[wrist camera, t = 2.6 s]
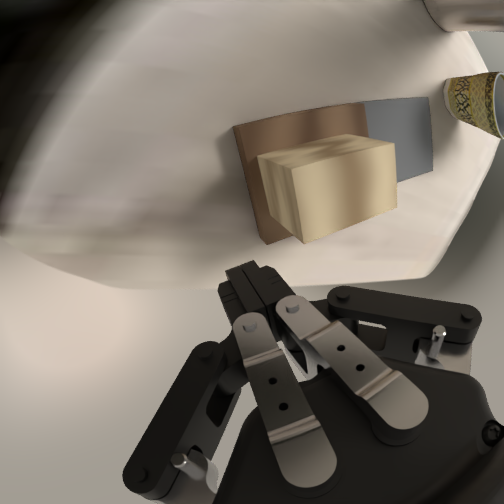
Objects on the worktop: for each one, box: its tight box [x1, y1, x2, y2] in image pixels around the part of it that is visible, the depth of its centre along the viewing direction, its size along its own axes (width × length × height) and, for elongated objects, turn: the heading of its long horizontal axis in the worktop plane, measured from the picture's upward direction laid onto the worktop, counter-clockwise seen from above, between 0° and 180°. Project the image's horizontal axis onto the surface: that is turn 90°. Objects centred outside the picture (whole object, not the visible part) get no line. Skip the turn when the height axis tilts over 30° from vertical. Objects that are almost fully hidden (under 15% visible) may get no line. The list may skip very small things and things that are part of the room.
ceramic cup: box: [443, 72, 504, 140], centre depth 28 cm, size 13×10×10 cm
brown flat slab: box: [233, 103, 369, 245], centre depth 28 cm, size 14×12×2 cm
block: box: [257, 134, 397, 244], centre depth 24 cm, size 10×6×7 cm, turn 104°
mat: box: [357, 97, 433, 182], centre depth 31 cm, size 14×11×1 cm
